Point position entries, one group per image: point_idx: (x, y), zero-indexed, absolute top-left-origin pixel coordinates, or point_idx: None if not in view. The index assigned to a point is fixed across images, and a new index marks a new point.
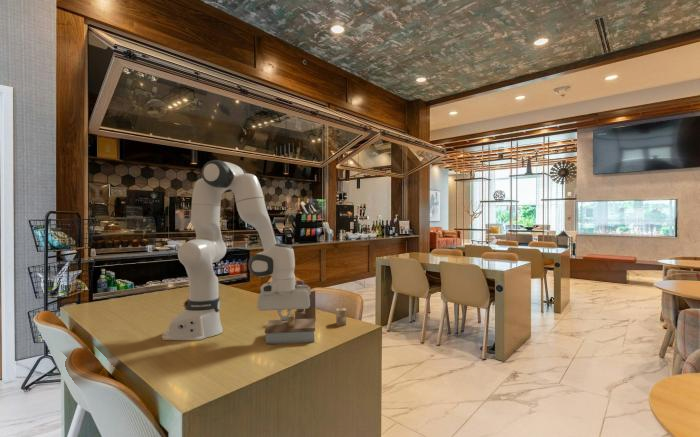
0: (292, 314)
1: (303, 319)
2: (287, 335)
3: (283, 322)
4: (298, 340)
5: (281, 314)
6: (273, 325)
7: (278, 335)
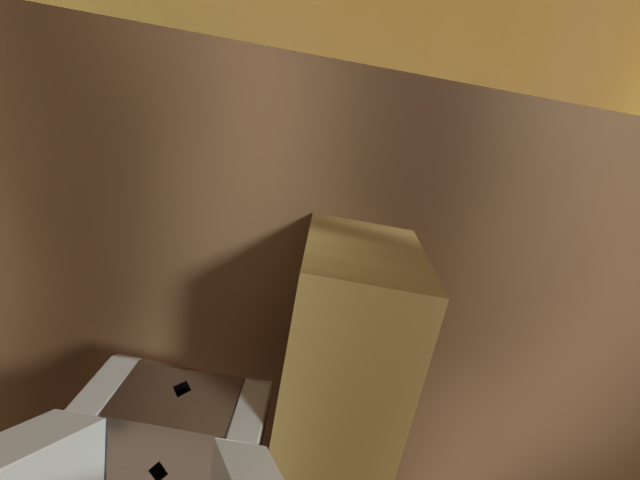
0: (387, 357)
1: (634, 172)
2: None
3: (198, 244)
4: None
5: (61, 476)
6: (29, 357)
7: None
